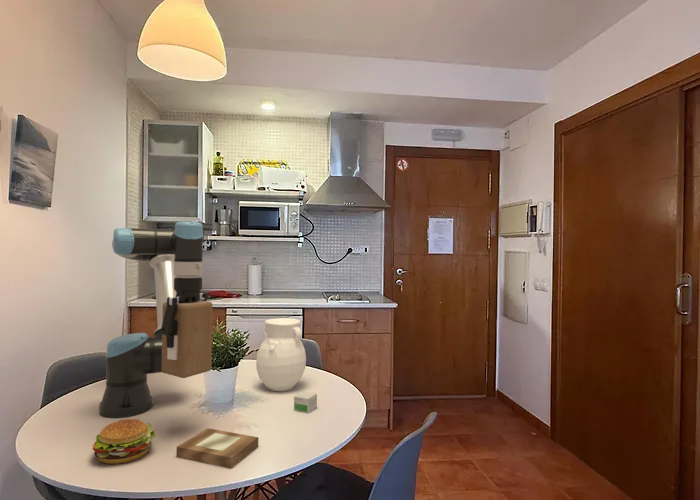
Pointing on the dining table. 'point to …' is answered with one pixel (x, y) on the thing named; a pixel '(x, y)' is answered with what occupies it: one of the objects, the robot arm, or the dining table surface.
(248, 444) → the board
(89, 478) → the dining table surface
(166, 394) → the dining table surface
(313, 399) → the small box
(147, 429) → the food
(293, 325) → the pitcher
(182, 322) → the wooden block
